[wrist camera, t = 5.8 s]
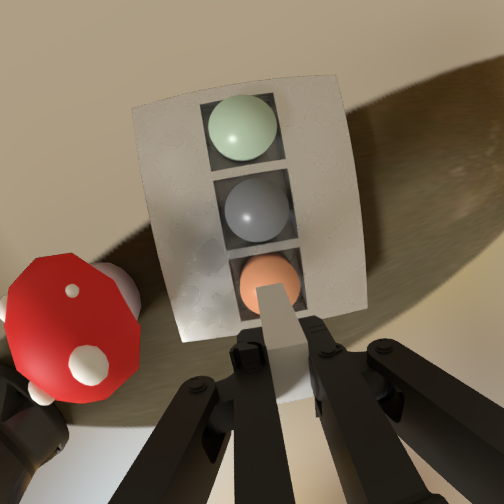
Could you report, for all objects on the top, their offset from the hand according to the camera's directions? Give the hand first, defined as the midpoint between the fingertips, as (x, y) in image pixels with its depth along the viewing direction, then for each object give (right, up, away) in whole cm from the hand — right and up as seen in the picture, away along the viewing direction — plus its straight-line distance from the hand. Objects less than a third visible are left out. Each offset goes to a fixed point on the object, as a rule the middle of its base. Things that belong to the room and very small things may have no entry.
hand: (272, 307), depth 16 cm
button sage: (-2, +11, +2) cm, 11 cm away
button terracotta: (0, +1, +5) cm, 5 cm away
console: (-1, +7, +6) cm, 9 cm away
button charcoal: (-1, +6, +4) cm, 7 cm away
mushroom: (-14, -1, +7) cm, 16 cm away
